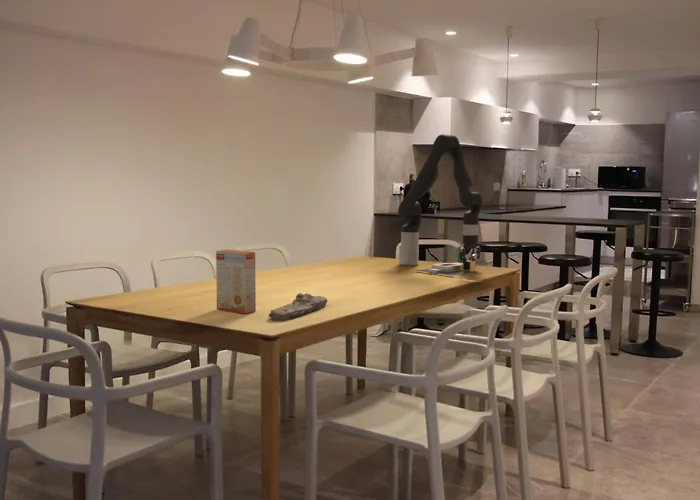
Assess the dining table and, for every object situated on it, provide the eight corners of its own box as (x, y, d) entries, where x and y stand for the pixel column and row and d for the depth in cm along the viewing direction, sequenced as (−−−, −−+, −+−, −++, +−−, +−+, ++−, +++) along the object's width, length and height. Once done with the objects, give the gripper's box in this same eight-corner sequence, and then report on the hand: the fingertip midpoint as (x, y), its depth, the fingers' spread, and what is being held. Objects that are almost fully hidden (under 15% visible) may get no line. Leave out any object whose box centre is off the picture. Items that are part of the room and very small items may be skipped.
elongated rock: (261, 324, 237) (287, 328, 233) (261, 308, 236) (288, 312, 232) (309, 301, 268) (333, 304, 264) (309, 287, 267) (334, 290, 264)
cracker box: (256, 312, 249) (256, 251, 247) (243, 314, 244) (243, 253, 242) (229, 307, 258) (228, 248, 255) (216, 309, 253) (215, 250, 251)
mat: (416, 272, 351) (416, 270, 351) (443, 268, 365) (443, 267, 365) (451, 277, 335) (451, 275, 335) (478, 273, 349) (478, 271, 349)
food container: (450, 265, 378) (451, 246, 377) (460, 265, 380) (461, 246, 379) (463, 268, 367) (464, 249, 366) (474, 268, 369) (474, 248, 368)
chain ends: (424, 271, 346) (424, 265, 346) (454, 268, 361) (454, 262, 360) (439, 274, 339) (439, 267, 339) (469, 270, 354) (469, 263, 354)
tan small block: (463, 271, 349) (463, 261, 348) (468, 270, 352) (469, 260, 351) (470, 272, 346) (470, 261, 345) (475, 271, 349) (475, 261, 348)
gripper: (473, 232, 354) (472, 266, 356) (454, 234, 345) (453, 269, 347) (486, 233, 349) (485, 268, 351) (467, 235, 339) (466, 271, 341)
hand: (469, 268), depth 349 cm, fingers open, 5 cm apart
